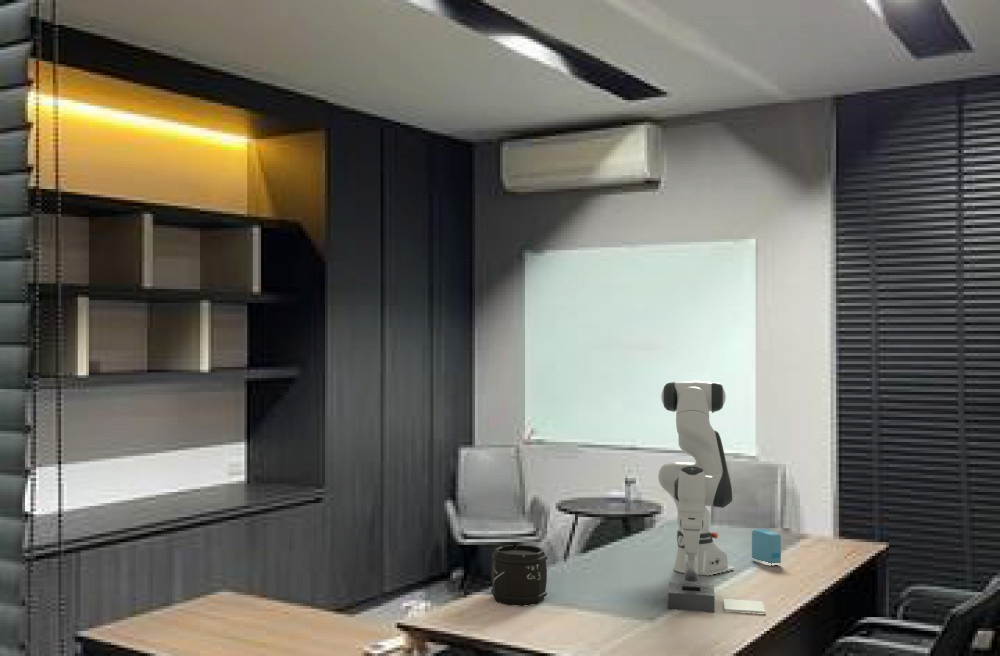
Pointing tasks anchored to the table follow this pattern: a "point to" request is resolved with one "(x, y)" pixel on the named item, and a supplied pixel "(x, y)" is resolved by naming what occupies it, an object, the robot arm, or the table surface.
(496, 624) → the table surface
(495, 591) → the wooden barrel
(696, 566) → the key peg
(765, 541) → the data package
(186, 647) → the table surface
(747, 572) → the table surface
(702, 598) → the block
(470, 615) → the table surface
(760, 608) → the pad
